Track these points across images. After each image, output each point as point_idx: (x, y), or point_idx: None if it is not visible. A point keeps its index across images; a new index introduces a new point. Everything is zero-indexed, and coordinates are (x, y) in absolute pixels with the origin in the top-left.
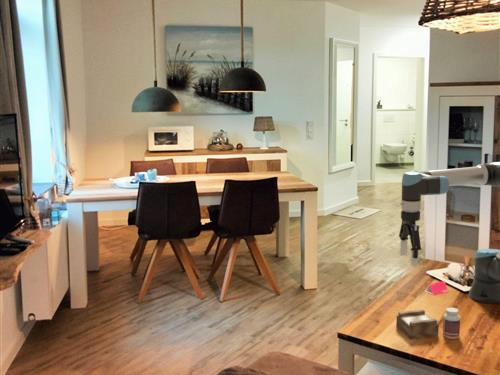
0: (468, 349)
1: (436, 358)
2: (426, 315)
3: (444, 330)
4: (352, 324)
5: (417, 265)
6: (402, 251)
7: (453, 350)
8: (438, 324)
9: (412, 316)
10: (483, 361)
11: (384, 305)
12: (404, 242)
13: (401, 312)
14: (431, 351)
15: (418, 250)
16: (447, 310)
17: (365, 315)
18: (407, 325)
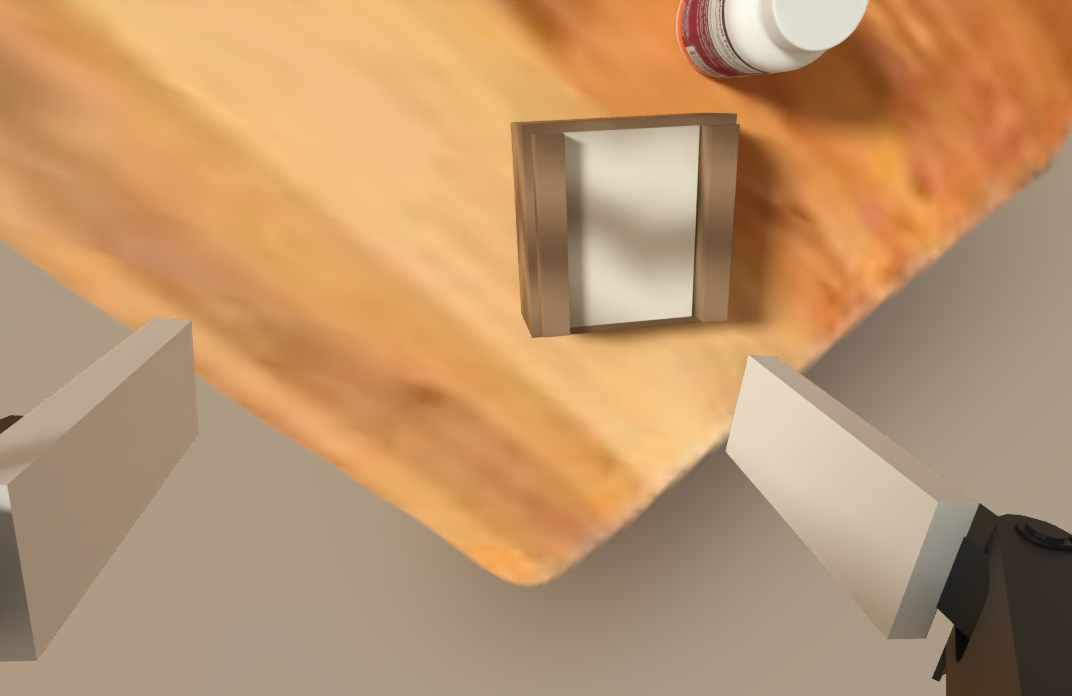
0: (899, 15)
1: (911, 252)
2: (588, 132)
3: (739, 76)
4: (449, 534)
5: (774, 363)
6: (166, 444)
7: (877, 115)
8: (735, 115)
9: (581, 243)
10: (1033, 12)
11: (156, 265)
12: (56, 536)
13: (552, 318)
14: (844, 244)
15: (966, 495)
16: (821, 47)
17: (330, 438)
18: (680, 322)
